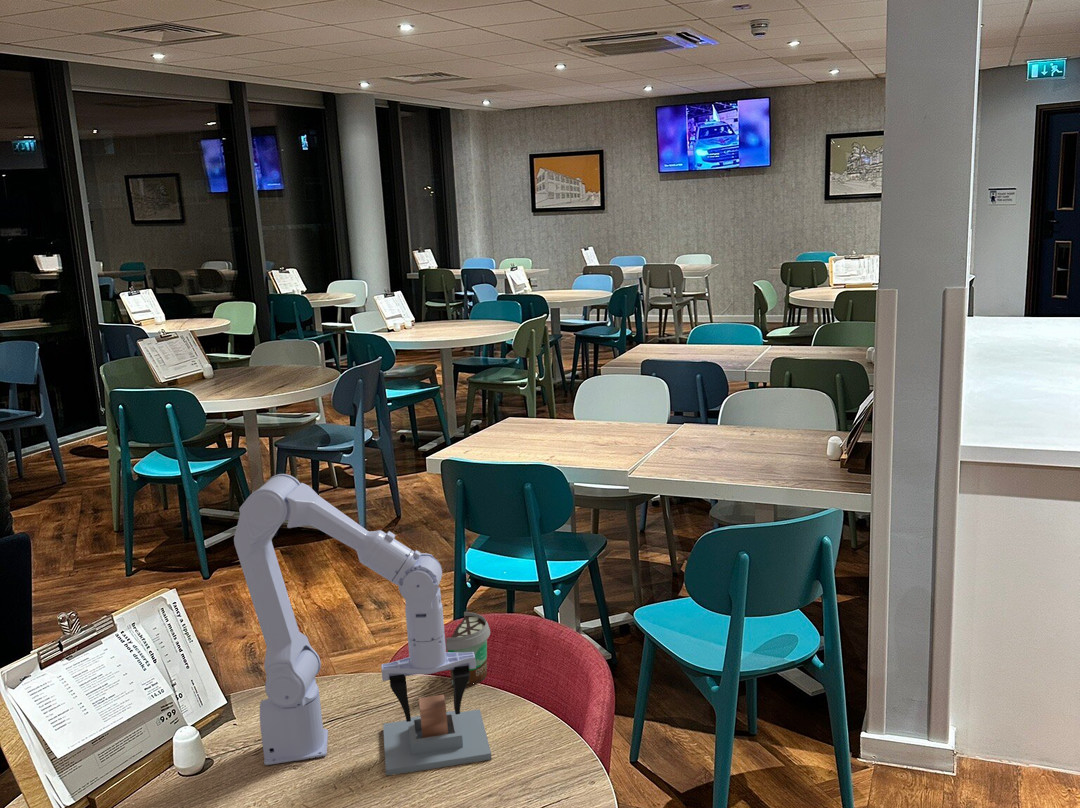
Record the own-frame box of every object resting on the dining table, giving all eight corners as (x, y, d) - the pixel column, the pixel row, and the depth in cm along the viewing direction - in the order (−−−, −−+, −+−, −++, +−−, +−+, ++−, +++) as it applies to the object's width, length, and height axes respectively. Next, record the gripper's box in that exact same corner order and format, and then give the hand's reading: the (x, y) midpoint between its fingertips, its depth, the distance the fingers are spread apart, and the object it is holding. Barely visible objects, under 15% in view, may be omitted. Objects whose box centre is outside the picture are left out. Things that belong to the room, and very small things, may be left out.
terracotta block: (423, 745, 149) (420, 710, 148) (421, 732, 153) (418, 698, 152) (448, 741, 150) (445, 706, 149) (446, 729, 154) (443, 694, 153)
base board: (386, 776, 143) (384, 757, 143) (383, 729, 157) (382, 712, 156) (491, 759, 146) (490, 741, 146) (480, 714, 160) (478, 698, 159)
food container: (483, 693, 167) (479, 640, 165) (449, 692, 168) (445, 639, 166) (500, 661, 179) (496, 611, 177) (468, 660, 180) (464, 610, 178)
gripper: (469, 618, 153) (475, 696, 156) (378, 629, 151) (385, 709, 153) (474, 636, 146) (480, 717, 149) (379, 648, 144) (387, 731, 146)
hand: (432, 714), depth 151 cm, fingers open, 7 cm apart
